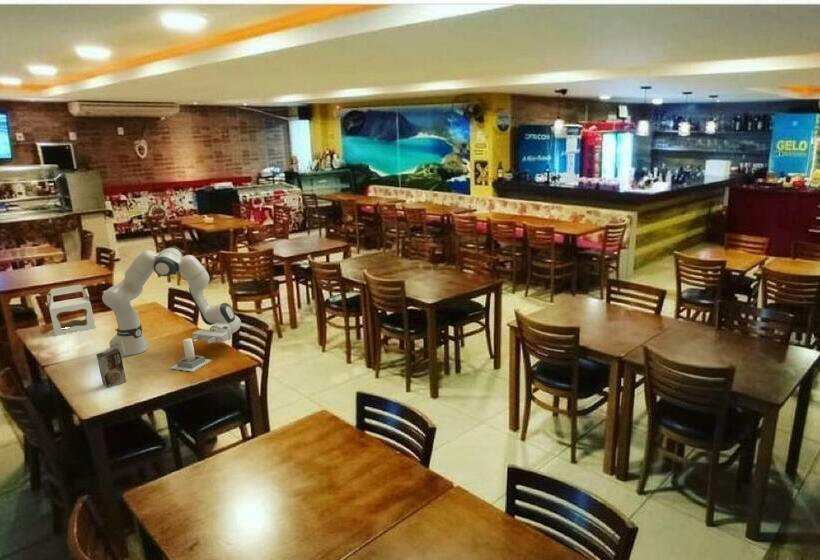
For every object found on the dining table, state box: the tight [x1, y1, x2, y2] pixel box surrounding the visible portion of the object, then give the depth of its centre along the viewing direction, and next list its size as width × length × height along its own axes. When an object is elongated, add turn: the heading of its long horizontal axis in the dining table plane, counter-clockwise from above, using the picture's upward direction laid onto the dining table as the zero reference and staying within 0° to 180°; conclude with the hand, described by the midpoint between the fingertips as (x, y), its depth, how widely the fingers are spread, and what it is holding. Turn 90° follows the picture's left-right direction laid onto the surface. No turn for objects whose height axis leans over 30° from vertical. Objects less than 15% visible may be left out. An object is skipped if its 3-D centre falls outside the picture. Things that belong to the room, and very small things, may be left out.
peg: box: [182, 337, 196, 363], centre depth 284 cm, size 5×5×13 cm
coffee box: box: [96, 349, 127, 389], centre depth 267 cm, size 9×6×16 cm
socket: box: [170, 354, 213, 373], centre depth 286 cm, size 14×14×4 cm
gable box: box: [46, 283, 96, 337], centre depth 345 cm, size 22×13×28 cm, turn 124°
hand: (200, 341), depth 291 cm, fingers open, 8 cm apart
